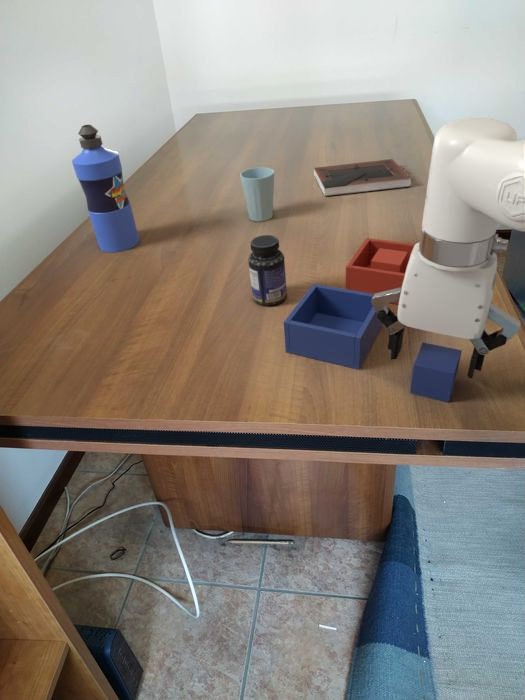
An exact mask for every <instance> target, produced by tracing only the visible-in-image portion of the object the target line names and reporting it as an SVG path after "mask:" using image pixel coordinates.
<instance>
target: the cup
mask: <svg viewBox="0 0 525 700" xmlns="http://www.w3.org/2000/svg"><path fill="white" fill-rule="evenodd" d="M239 177H240V181H241V185H242V190H243V195H244V199H245V202H246V207H247V208H246V209H247V212H248V217H249V220H251V221H252V222H258V223H260V222H266V221H270V220H271V219H272V218H273V214H274V194H275V193H274V191H275V190H274V189H275V170H274V169H273V168H270V167H260V166H259V167H252V168H247V169H245V170H243V171H242V172H240V174H239Z"/></svg>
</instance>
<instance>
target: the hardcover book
mask: <svg viewBox="0 0 525 700" xmlns="http://www.w3.org/2000/svg"><path fill="white" fill-rule="evenodd" d="M313 175H314V178H315V179H316V181H317V184H318V185H319V187H320V189H321V191H322V193H323V195H324V196H325V197H333V196H339V195H350V194H351V195H352V194H358V193H366V192H373V191H381V190H396V189H403V188H409V187H411V183H412V178H411V176H409V175H408V174H407V173H406V172H405V171H404V169H402V168H401V166H400V165H399V164H398V163H397V162H396V161H395V160H394V159H393V158H389V159H387V158H386V159H380V160H369V161H361V162H353V163H344V164H335V165H326V166H319V167H318V166H317V167H313Z"/></svg>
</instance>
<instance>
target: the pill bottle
mask: <svg viewBox="0 0 525 700" xmlns="http://www.w3.org/2000/svg"><path fill="white" fill-rule="evenodd" d="M279 248H280V241H279V238H278V237H277V236H276V235H271V234H263V235H258V236H256V237H253V238H252V239H251V240H250V251H251V252H250V254H249V255H248V258H247V263H248V271H249V278H250V286H251V294H252V295H251V296H252V300H253V301H254V303H256V305H260V306H265V307H266V306H267V307H270V306H271V307H272V306H277V305H279V304H281V303H283V302H284V301H286V298H287V296H288V291H287V289H288V288H287V277H286V266H285V265H286V263H285V255H284V253H283V252H282V250H280V249H279Z"/></svg>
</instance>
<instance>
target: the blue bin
mask: <svg viewBox="0 0 525 700" xmlns="http://www.w3.org/2000/svg"><path fill="white" fill-rule="evenodd" d="M373 296H374V294H370V293H364V292H359V291H353V290H347V289H345V288H340V287H334V286H329V285H323V284H317V283H313V284H312V285H311V286H310V287H309V289H308V290H307V291H306V293H305V294H304V295H303V297H302V298H301V299H300V300H299V302H298V303H297V304H296V305H295V307H294V308H293V309H292V310H291V312H290V313H289V315H288V316H287V317H286V318H285V320H284V321H283V333H284V347H285V353H288V354H292V355H296V356H299V357H305V358H309V359H313V360H317V361H320V362H326V363H328V364H333V365H338V366H342V367H347V368H351V369H355V370H360V369H361V368H362V366H363V363H364V362H365V360H366V358H367V356H368V354H369V352H370V350H371V349H372V346H373V345H374V343H375V342H376V339H377V337H378V335H379V333H380V331H381V329H382V328H383V323H382V322H381V321H380V320H379V319H378V317H377V312H376V311H375V309H374V307H373V305H372V303H371V299H372V298H373Z"/></svg>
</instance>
